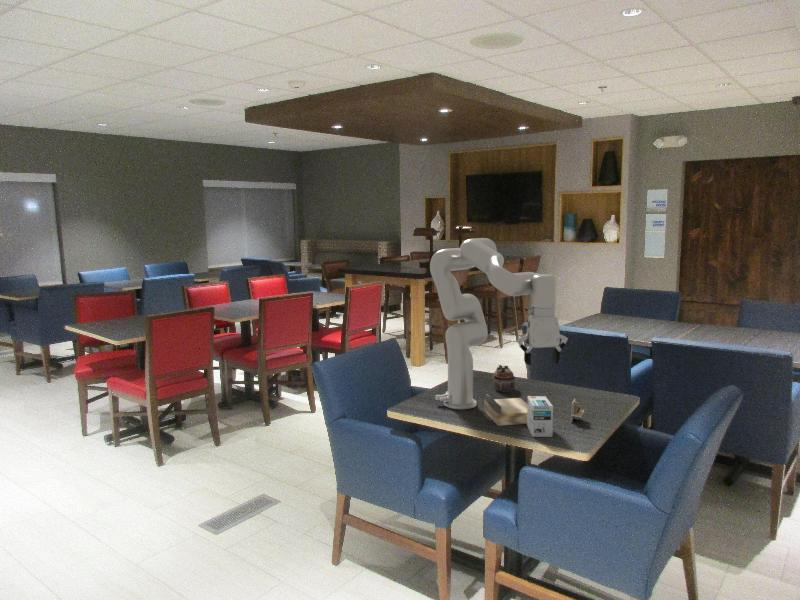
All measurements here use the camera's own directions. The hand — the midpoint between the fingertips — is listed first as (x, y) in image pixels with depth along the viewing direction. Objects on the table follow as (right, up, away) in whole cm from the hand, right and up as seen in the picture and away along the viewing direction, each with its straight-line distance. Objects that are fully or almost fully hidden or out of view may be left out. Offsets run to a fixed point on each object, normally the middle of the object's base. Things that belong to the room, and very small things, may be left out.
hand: (541, 363), depth 194 cm
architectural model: (+15, -22, +13) cm, 30 cm away
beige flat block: (-8, -21, +18) cm, 28 cm away
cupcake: (-4, -17, +50) cm, 53 cm away
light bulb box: (0, -24, +3) cm, 24 cm away
